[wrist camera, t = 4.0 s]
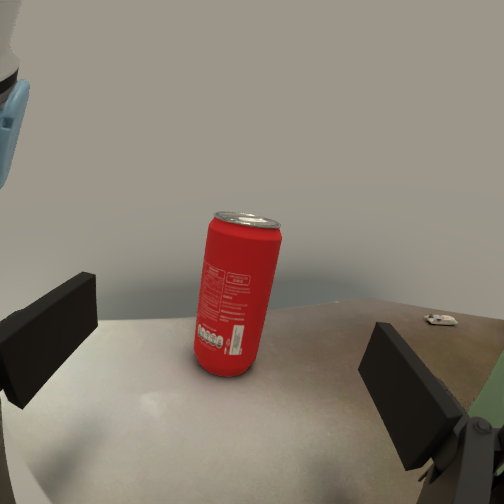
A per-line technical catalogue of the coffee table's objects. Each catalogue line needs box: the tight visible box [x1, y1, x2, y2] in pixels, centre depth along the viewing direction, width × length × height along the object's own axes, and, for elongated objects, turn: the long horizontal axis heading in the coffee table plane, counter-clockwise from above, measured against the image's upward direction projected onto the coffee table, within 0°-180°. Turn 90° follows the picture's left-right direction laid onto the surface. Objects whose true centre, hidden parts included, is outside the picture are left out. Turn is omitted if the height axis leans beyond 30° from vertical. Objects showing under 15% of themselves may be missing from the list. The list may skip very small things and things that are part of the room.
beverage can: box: [194, 212, 282, 377], centre depth 21 cm, size 5×5×12 cm
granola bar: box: [425, 315, 458, 325], centre depth 37 cm, size 7×2×1 cm, turn 90°
